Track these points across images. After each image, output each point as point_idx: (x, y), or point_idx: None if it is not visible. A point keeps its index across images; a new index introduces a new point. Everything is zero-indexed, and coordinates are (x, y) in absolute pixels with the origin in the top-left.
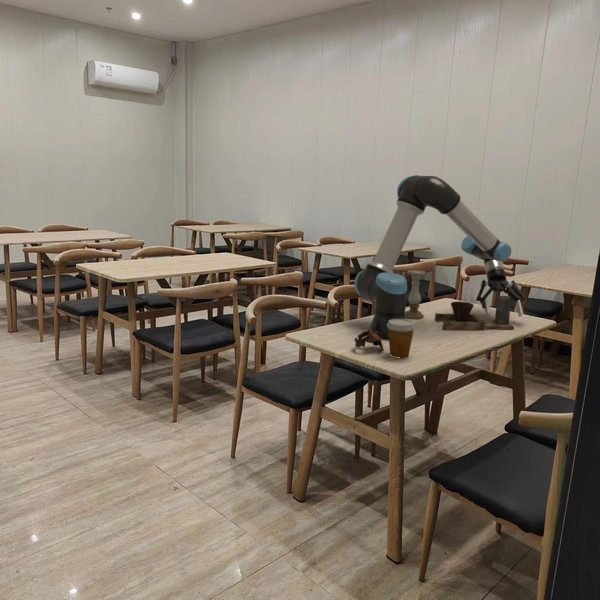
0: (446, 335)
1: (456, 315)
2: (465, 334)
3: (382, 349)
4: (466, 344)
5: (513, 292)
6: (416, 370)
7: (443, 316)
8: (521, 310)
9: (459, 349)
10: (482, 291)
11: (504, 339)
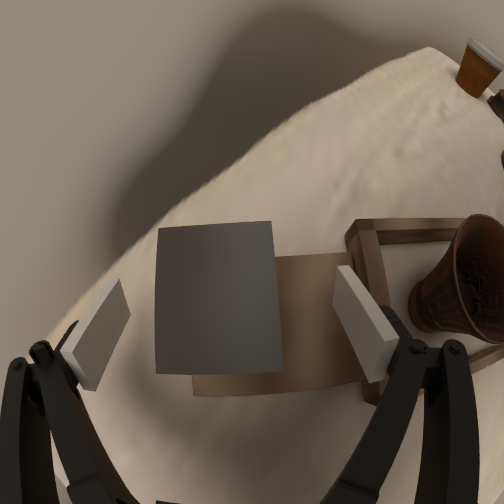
0: (450, 174)
1: (474, 268)
2: (407, 182)
3: (490, 99)
4: (392, 106)
5: (61, 428)
6: (427, 49)
7: (489, 351)
8: (104, 292)
9: (400, 86)
10: (453, 409)
11: (280, 137)
